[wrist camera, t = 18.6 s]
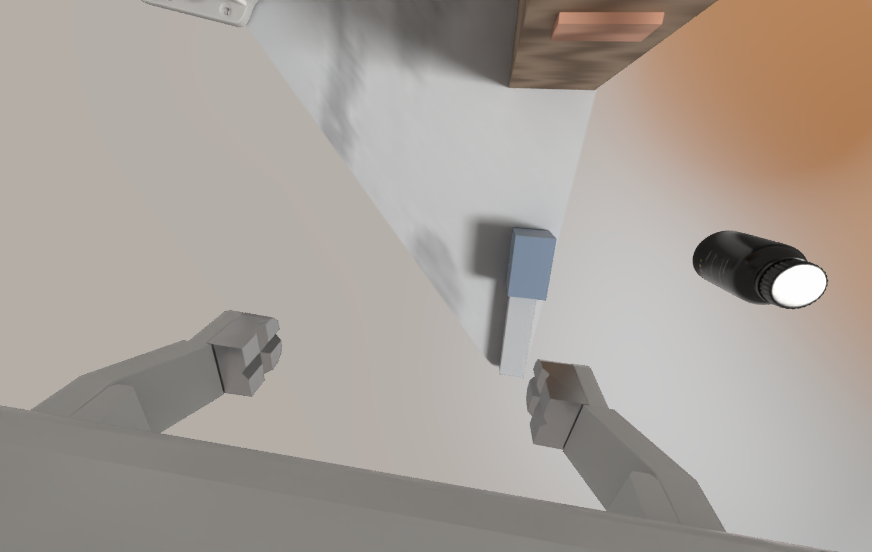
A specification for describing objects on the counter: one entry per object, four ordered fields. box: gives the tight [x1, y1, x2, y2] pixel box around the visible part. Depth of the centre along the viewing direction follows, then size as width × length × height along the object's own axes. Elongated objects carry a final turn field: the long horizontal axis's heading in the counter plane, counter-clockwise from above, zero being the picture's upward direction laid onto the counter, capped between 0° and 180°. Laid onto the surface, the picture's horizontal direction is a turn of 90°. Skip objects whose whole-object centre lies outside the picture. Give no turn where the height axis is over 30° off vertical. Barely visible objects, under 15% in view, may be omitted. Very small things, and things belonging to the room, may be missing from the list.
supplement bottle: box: [693, 231, 828, 309], centre depth 38 cm, size 7×7×12 cm
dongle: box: [499, 228, 556, 378], centre depth 47 cm, size 5×22×6 cm, turn 177°
